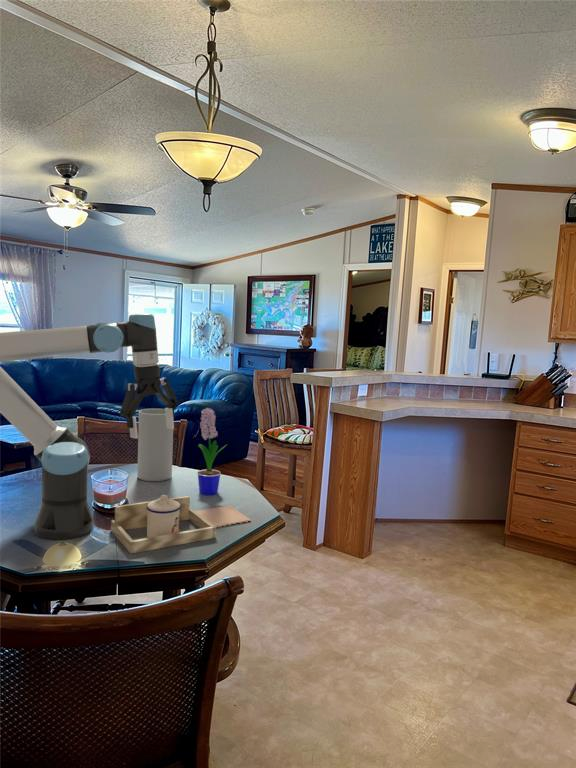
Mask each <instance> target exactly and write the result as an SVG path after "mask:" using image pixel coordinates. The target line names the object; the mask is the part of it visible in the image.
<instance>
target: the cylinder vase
mask: <svg viewBox="0 0 576 768" xmlns="http://www.w3.org/2000/svg"><path fill="white" fill-rule="evenodd" d="M174 418H175V417H174ZM174 418H173V421H174ZM137 434H138V438H137V440H138V441H137V478H138V479H140V480H141V481H145V482H152V483H155V482H163V481H167V480H170V479H171V478H172V475H173V452H174V451H173V448H174V447H173V446H174V445H173V444H174V429H169V428H167V424H166V413H165V408H144V409H143V408H142V409H140V410H138V430H137Z"/></svg>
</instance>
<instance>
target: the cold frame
mask: <svg viewBox="0 0 576 768" xmlns="http://www.w3.org/2000/svg"><path fill="white" fill-rule="evenodd" d="M169 499H171V500H175V501H177V502H179V504H180V506H181V507H180V512H179V522H181V521H182V522H183V521H187V520H189V521H190V522H192V524H194V525H196V527H198V528H196V529H190V530H186V531H184V530H183V531H179V532H178V533H173V534H167V535H161V536H156V537H150V538H148V537H144V538H140V539H134V540H133V538H131V536H130V534H128V533H127V532H126V531H127V530H128V531H129V530H134V529H139V528H140V529H141V528H144V527H145V528H147V511H148V510H147V505H148V503H150V502H151V501H152V500H149V501H143V502H136V503H128V504H122V505H115V506H114V519H112V520H111V523H110V531H111V532H112V534H113V535H114V536H115V537H116V539H117V540H118V541H119V542H120V543H121V544H122V545H123V547H124V548H125V549H126V551H127V552H128V553H129V554H130V555H132V554H136V553H142V552H143V553H144V552H146V551H153V550H157V549H158V550H159V549H163V548H168V547H173V546H178V545H179V546H180V545H184V544H190V543H193V542H194V543H195V542H199V541H205V540H210V539H216V537H217V528H216V527H215V526H214V525H212V524H211V523H210V522H208V521H207V520H206V519H204V518H203V517H202V516H201V515H199V514H198V513H197V512H195V511H196V510H194V509H193V508H190V505H191V504H190V500H191V497H190V496H189V495H187V496H179V497H173V498H169Z"/></svg>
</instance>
